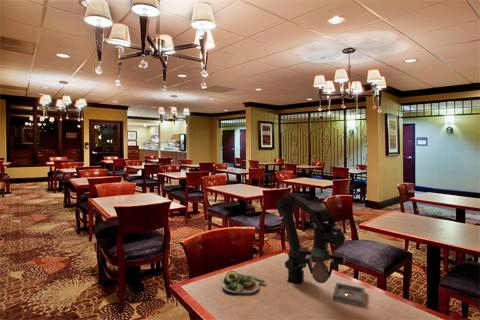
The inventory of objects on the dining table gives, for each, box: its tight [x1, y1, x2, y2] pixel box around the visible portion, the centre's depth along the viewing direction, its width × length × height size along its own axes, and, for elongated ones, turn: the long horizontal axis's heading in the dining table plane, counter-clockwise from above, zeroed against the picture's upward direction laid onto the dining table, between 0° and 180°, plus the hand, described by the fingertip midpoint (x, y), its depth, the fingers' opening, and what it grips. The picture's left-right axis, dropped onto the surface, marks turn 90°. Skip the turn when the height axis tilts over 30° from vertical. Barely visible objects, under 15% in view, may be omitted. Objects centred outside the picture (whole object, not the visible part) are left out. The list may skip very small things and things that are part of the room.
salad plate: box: [221, 270, 266, 295], centre depth 130 cm, size 19×18×5 cm
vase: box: [311, 262, 330, 284], centre depth 119 cm, size 7×7×9 cm
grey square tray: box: [331, 282, 366, 308], centre depth 120 cm, size 12×12×2 cm
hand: (320, 275), depth 119 cm, fingers closed on vase, 7 cm apart
